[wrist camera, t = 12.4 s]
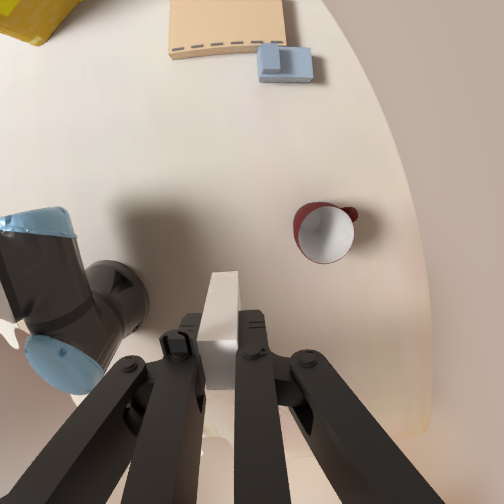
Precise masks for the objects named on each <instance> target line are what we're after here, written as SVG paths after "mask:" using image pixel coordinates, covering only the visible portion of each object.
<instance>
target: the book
mask: <svg viewBox="0 0 504 504" xmlns="http://www.w3.org/2000/svg"><path fill="white" fill-rule="evenodd" d="M81 1H83V0H0V33H2V34H5V35H8V36H11V37H13V38H16V39H19V40H21V41H24V42H27V43H29V44H32V45H34V46H40V45H42V44H44V43H45V42H46V41H47V40H48V39H49V37H50V36H51V35H52V33H53V32H54V31H55V30H56V28H57V27H58V26H59V25H60V24H61V22H62V21H63V20H64V19H65V18H66V17H67V16H68V14H69V13H70V12H71V11H72V10H73V9H74V8H75V7H76V6H77V5H78V4H79V3H80V2H81Z"/></svg>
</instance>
